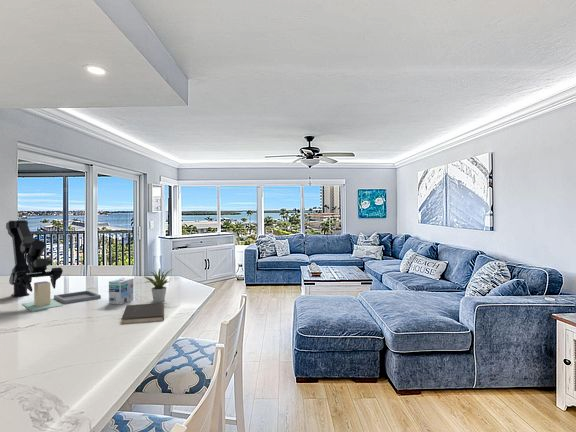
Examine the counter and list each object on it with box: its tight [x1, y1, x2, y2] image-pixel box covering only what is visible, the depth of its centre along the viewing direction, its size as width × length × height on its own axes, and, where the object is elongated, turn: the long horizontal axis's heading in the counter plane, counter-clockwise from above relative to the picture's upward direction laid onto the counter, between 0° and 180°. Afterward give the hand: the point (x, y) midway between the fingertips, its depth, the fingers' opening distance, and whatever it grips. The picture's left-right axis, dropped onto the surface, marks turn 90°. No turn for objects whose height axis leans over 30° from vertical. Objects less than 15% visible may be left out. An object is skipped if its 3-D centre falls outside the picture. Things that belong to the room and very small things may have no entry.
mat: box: [21, 298, 63, 313], centre depth 177 cm, size 16×12×1 cm
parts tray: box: [53, 290, 102, 305], centre depth 191 cm, size 16×16×2 cm
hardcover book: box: [121, 302, 165, 324], centre depth 165 cm, size 16×23×2 cm
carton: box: [33, 280, 51, 306], centre depth 177 cm, size 5×5×10 cm
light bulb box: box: [108, 277, 135, 305], centre depth 187 cm, size 11×7×11 cm, turn 168°
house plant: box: [144, 268, 175, 303], centre depth 192 cm, size 14×14×16 cm
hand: (43, 289), depth 176 cm, fingers open, 9 cm apart
